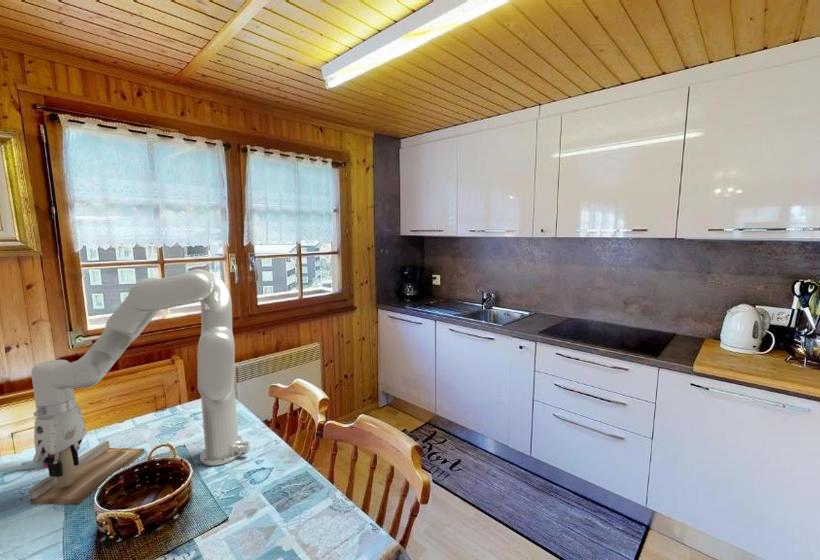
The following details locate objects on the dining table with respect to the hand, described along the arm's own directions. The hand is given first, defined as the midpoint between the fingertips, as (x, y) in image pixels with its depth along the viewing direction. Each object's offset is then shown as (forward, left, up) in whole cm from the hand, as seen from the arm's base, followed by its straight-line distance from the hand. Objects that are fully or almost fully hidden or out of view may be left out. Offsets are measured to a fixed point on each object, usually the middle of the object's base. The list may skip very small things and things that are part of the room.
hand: (64, 469), depth 100 cm
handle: (0, 0, -4) cm, 4 cm away
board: (-1, -7, -7) cm, 10 cm away
